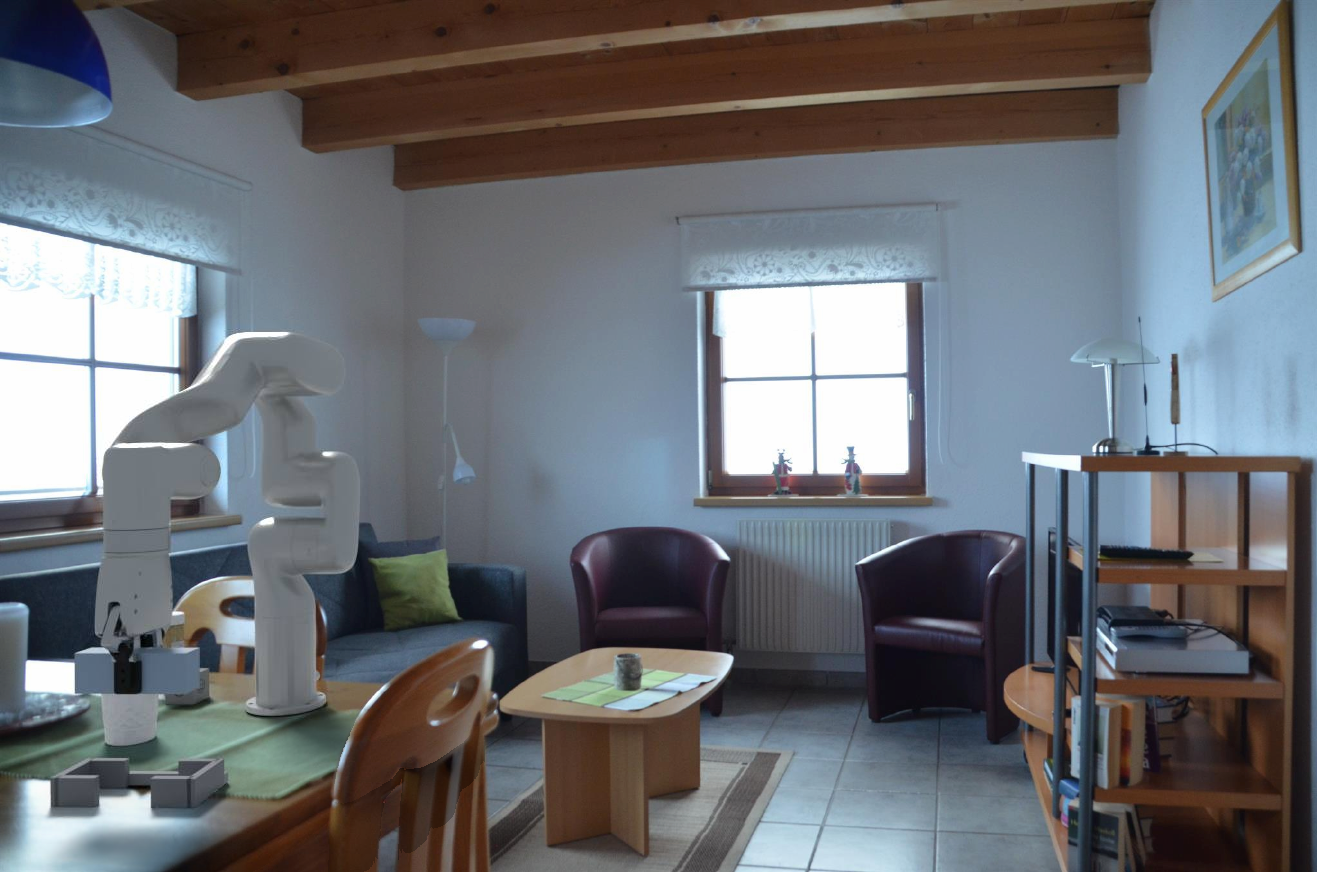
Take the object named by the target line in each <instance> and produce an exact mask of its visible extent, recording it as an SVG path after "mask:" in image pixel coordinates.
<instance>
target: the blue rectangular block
mask: <svg viewBox="0 0 1317 872" xmlns="http://www.w3.org/2000/svg"><path fill="white" fill-rule="evenodd" d="M200 655H201V653H200V647H184V648H139V654H138V660H137V661H142V691H141V693H139V694H159V695H165V694H187V693H189V692H191V691H193V690H195V689H197V688H199V687H200V668H201V667H200V665H201V664H200V662H201V660H200V658H201V657H200ZM74 694H75V695H77V694H78V695H87V694H89V695H90V694H91V695H94V694H95V695H101V694H115V693H114V663H113V662H112V661H111V654H110V653H109V651H108V650H107V649H105V648H104V647H89V648H86V649H83V650H81V651H77V652H75V653H74Z"/></svg>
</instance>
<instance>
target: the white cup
mask: <svg viewBox="0 0 1317 872" xmlns="http://www.w3.org/2000/svg"><path fill="white" fill-rule="evenodd" d="M100 698H101V713H102V722H103V723H102V724H103V726H104V728H103V729H104V743H105V744H107V745H108V746H114V747H124V746H125V747H127V746H133V745H134V746H135V745H137V744H138V745H139V744H143V743H146V742H149V741H152V740H153V739H155V738H156V736H157V730H158V729H157V723H158V721H157V720H158V715H159V703H160V702H159V701H160V694H100Z"/></svg>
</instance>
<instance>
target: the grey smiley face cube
mask: <svg viewBox="0 0 1317 872" xmlns="http://www.w3.org/2000/svg"><path fill="white" fill-rule="evenodd" d="M208 698H210V667H209V668H207V667H200V687H199V688H197V689H195V690H193V691H191V692H189V693H187V694H164V704H165V705H192V706H193V705H194V704H195V705H196V704H198V703H200V702H202V701H204V700H205V699H208Z"/></svg>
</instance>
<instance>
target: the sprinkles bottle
mask: <svg viewBox="0 0 1317 872" xmlns="http://www.w3.org/2000/svg"><path fill="white" fill-rule="evenodd" d="M185 615H186V614H185V612H184V611H172V619H171V621H170V622H171V624H170V627H169V628H168V630H167V631H166V633H165V636H164V638H163V640H162V644H163V648H185V631H184V629H185V627H184V626H185V622H186V621H185V620H186V619H185V617H186V616H185Z"/></svg>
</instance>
